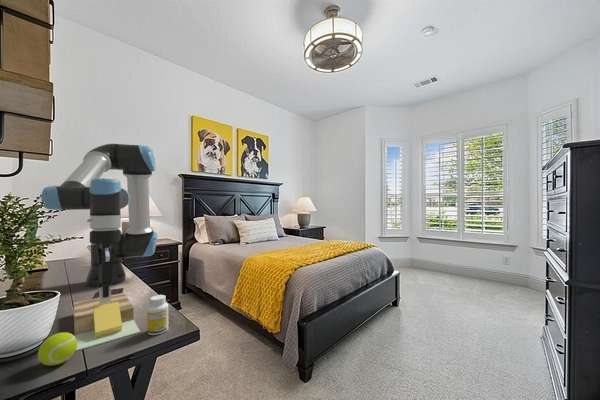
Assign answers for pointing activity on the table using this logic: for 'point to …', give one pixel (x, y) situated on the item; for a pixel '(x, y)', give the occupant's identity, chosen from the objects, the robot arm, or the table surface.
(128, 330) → the mat
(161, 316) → the supplement bottle
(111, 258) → the robot arm
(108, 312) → the yellow sticky note pad
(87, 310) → the deck
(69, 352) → the tennis ball
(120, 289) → the chocolate bar
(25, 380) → the table surface
